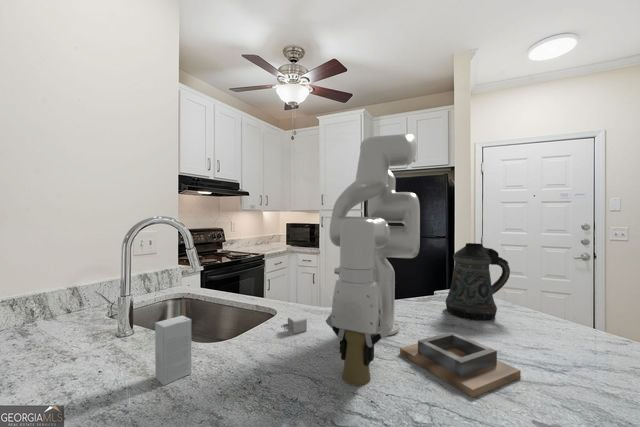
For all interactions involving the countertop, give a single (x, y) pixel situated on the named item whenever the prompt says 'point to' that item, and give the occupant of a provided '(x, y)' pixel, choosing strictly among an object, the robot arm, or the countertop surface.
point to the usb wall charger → (296, 324)
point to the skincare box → (172, 349)
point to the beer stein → (475, 283)
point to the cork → (355, 359)
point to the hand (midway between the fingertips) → (356, 359)
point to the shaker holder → (461, 363)
